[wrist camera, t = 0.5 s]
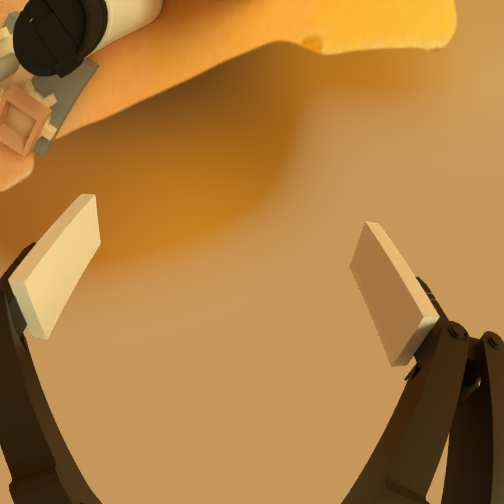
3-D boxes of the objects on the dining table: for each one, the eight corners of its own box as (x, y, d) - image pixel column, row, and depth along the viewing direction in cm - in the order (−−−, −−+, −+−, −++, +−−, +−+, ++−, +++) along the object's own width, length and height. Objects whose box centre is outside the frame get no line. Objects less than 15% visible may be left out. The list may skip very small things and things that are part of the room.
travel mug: (129, 39, 28) (39, 101, 15) (102, 0, 24) (-10, 35, 10) (175, 12, 26) (110, 41, 13) (148, -30, 22) (56, -35, 8)
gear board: (17, 8, 21) (-26, 24, 15) (100, 63, 30) (69, 86, 24) (-23, 102, 29) (-58, 132, 23) (47, 151, 38) (20, 187, 32)
